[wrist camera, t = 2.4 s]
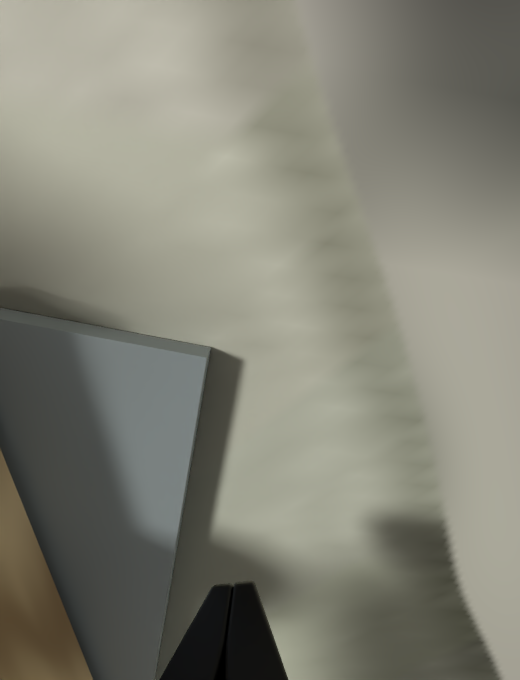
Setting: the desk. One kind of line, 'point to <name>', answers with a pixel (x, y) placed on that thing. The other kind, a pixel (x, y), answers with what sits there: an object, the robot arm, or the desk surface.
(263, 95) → the desk surface
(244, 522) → the desk surface
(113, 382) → the slate board
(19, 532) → the maple link
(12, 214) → the desk surface
